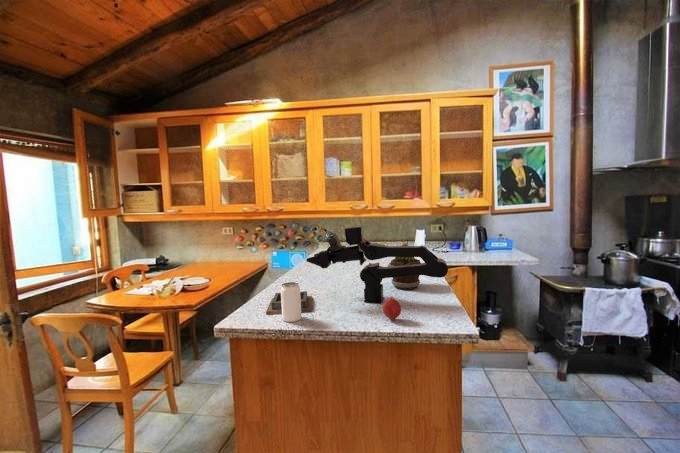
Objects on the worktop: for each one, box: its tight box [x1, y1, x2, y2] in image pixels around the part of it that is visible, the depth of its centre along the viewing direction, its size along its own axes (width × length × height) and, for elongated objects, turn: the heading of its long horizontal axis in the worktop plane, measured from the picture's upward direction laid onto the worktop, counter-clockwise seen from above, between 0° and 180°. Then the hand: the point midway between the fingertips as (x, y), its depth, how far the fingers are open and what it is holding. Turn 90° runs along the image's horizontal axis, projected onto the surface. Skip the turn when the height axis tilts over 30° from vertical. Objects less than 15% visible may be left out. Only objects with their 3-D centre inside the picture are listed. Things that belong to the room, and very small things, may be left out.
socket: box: [265, 290, 313, 315], centre depth 125 cm, size 16×16×4 cm
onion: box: [382, 296, 402, 322], centre depth 106 cm, size 6×6×8 cm
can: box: [280, 281, 302, 323], centre depth 111 cm, size 6×6×12 cm
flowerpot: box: [387, 242, 423, 291], centre depth 144 cm, size 14×15×20 cm
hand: (310, 257), depth 132 cm, fingers open, 9 cm apart
